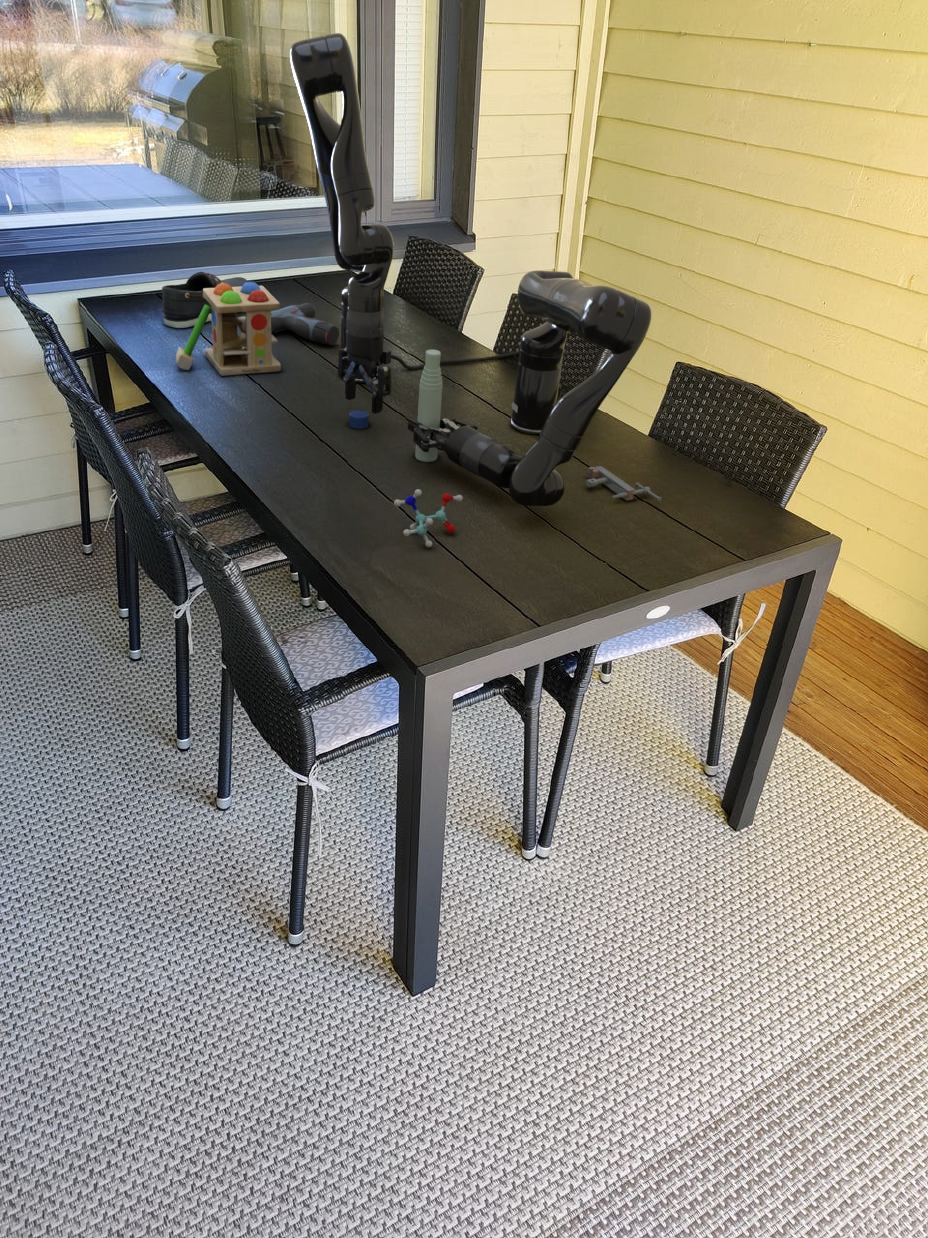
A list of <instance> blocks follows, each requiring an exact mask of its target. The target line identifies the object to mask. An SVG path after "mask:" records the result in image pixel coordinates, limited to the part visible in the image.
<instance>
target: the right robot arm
mask: <svg viewBox="0 0 928 1238" xmlns="http://www.w3.org/2000/svg"><path fill="white" fill-rule="evenodd" d="M517 300H518V307H519V308H520V311H521V312H522V314H523V315H524V316H525V317H527V318H529V319H541V320H543V321H545V322H544V323H543V324H541V325H539V326H537V327H535V328H531V329H529V330H526V331H525V332H524V333H522V335H521V338H520V343H519V344H520V345H519V350H520V353H519V355H518V363H517V370H516V380H515V388H514V396H513V401H512V402H511V409H512V413H511V419H510V426H511V427H512V428H513V429H514V430H516V431H517V432H521V433H524V434H529V435H538V437H537V439H536V440H535V441H534V443H532V445H531V446H530V448H529V449H527V451H526V452H525V453H524V455H521V454H518V453H516V452H515V451H513V450H512V449H510V448H508V447H506V446H504V445H502V444H501V443H499V442H498V441H497V440H496V439H494V438H492V437H490V436H488V435H487V434H485V433H483V432H481V431H479V430H478V429H479V427H478V425H477V424H474V423H471V422H468V421H466V420H462V419H460V418H457V417H453V418H451V419H450V420H449V418H442V417H440V428H438V427H435V426H431V427H427V426H424V425H423V424H421V423H419V422H418V421H417V420H416V419H414V418H409V419H408V420H407V430H408V431H410V432H411V433H413V438H412V442H413V443H414V444H415V445H416V444H417V445H418V447H419V448H420V449H421V450H422V451H423V452H429V448H434V447H436V448H437V449H438V451H443V452H444V453H445V455H446V457H447V459H448V460H449V461H450V462H452V463H454V464H455V465H457V466H459V468H460V467H461V468H462V469H464V470H466V471H468V472H469V473H470V474H473V475H475V476H478V477H479V478H483V479H484V480H485V481H488V482H489V483H491V484H493V485H495V486H497V487H498V488H502V489H506V490H507V489H508V492H509V495H510V498H511V499H512V501H513V502H515V503H516V504H517V505H520V506H523V507H550V506H553V505H555V504H557V503H558V502H559V501H561V499H562V498H563V496H564V493H565V481H564V478H563V477H562V475H561V474H560V472H558V471H557V470H556V468H557V467H558V466H560V465H563V464H566V463H568V462H570V461H571V460H572V459H573V457H574V456H575V453H576V451H577V449H578V447H579V446H580V444H581V441H582V440H583V437H584V436H585V434H586V431H587V429H588V428H589V426H590V424H591V422H592V420H593V419H594V416H595V415H596V413H597V412H598V409H599V408H600V407H601V405H602V403H603V402H604V401H605V399H606V398H607V396H609V394H610V392H611V391H612V390H613V388H614V387H615V385H616V384H617V382H618V381H619V379H620V378H621V377H622V375H623V373H624V372H625V370H626V369H627V367H628V366H629V364H630V363H631V361H632V360H633V358H634V357H635V355H636V354H637V352H638V351H639V349H640V347H641V346H642V344H643V342H644V340H645V338H646V336H647V334H648V332H649V329H650V326H651V323H652V308H651V306H650V304H649V303H648V302H646V301H645V300H642V299H640V298H638V297H635V296H633V295H630V294H628V293H626V292H624V291H621V290H619V289H616V288H614V287H611V286H607V285H599V284H598V285H593V284H592V283H590V282H588V281H585V280H583V279H579V278H574V277H573V275H572V273H570V272H568V271H560V270H559V271H557V270H530V271H528V272H526V273H525V274H524V275H523V276H522V278H521V280H520V282H519V284H518V287H517ZM568 333H571V334H577V335H578V336H579V337H580V338H582V339H583V340H584V341H586V342H588V343H590V344H593V345H595V346H598V347H600V348H602V349H605V350H608V351H609V353H608V354H607V356H606V358H605V359H604V361H603V362H602V363H601V364H600V366H599V367H598V368H597V369H596V370H595V371H594V372H592V374H591V375H589V376H588V377H587V378H586V379H584V380H583V381H582V382H580V383H578V384H577V385H576V386H575V387H573V388H572V389H570V390H569V391H568V392H562V385H561V384H560V381H561V372H562V366H563V359H564V352H565V346H566V342H567V339H568V338H567V337H568ZM425 431H427V432H428V436H426V435H425ZM434 432H435V434H434Z"/></svg>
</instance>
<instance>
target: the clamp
mask: <svg viewBox="0 0 928 1238" xmlns="http://www.w3.org/2000/svg"><path fill="white" fill-rule="evenodd" d="M587 478H588V479H586V482H585V485H586V486H587V487H589V488H593V487H598V486H599V485H601V484H603V485H604V486H606V487H607V488H608V489H609V490H611V491H613V492H614V493H615V494H614V495H612V496H611V497H612V499H621V498H622V499H623V500H625V501H632V500H633V499H634V496H636V495H639V494H642V495H646V494H649V495H650V496H651V497H653V498H654V499H656V500H657V502H659V503H660V502H661V501H662V500H663V498H662V496H658V495H657V494H655V493H654V492H652V491H651V488H650V486H644V485H642V484H641V483H640V482H639V481H638V482H637V481H636V483H635V484H634V485H635V488H639V489H635V488H633V487H632V486H631V485H629V484H628V483H626V482H625V481H623V480H622V479H620V478H619V477H618V476H617V475H615V474H614V473H613V472H611V471H609V470H608V469H606V468H605V467H603V466H602V465H599V466H595V467H594V466H590V467H588V470H587Z"/></svg>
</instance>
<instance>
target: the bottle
mask: <svg viewBox="0 0 928 1238" xmlns="http://www.w3.org/2000/svg"><path fill="white" fill-rule="evenodd" d="M441 357H442V354H441V351H440V350H437V349H427V350H426V351H425V361H424V364H425V366H424V368H423V370H422V374H421V375H420V380H419V387H418V388H419V389H418V403H417V404H418V405H417V417H416V418H417V420H416V421H418V422H419V423H421V424H423V425H424V426H427V427H431V426H435V427H438V428H440V418H441V416H442V415H441V413H442V403H443V402H442V400H443V388H444V387H443V376H442V371H441V370H442V368H441V367H440V366H441V364H440V361H441ZM434 434H435V432H434ZM425 435H426V436H428V432H427V431H425ZM414 454H415V455H414V457H415V458H416V459H415V460H418V461H421V462H423V463H431V462H435V461H437V459H438V455H439V450H438V449H437V448H436V447H434V448H429V452H423V451H422V450H421V449H420V448H419V447H418V445H417V444H416V443H415V453H414Z"/></svg>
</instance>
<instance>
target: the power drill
mask: <svg viewBox="0 0 928 1238" xmlns="http://www.w3.org/2000/svg"><path fill="white" fill-rule="evenodd" d="M315 315H316V308H315V306H314V305H313V304H312V303H311V302H305V303H300V304H295V305H294V304H293V305H289V306H285V307H283V308H280V310H271V334H272V335H273V334H275V333H276V334H277V333H279V332H282V331H286V330H290V331H292V332H293V333H295V334H296V335H298V336H300V337H302V338H305V339H307V340H309V341H313V342H316V343H319V344H323V345H327V346H333V345H335V344H336V343H337V342H338V340H339V337H340V330H339V328H338V326H336V325H334V324H333V323H332V324H331V323H329V322H328V321H323V320H321V319H317V318H314V317H315Z"/></svg>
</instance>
